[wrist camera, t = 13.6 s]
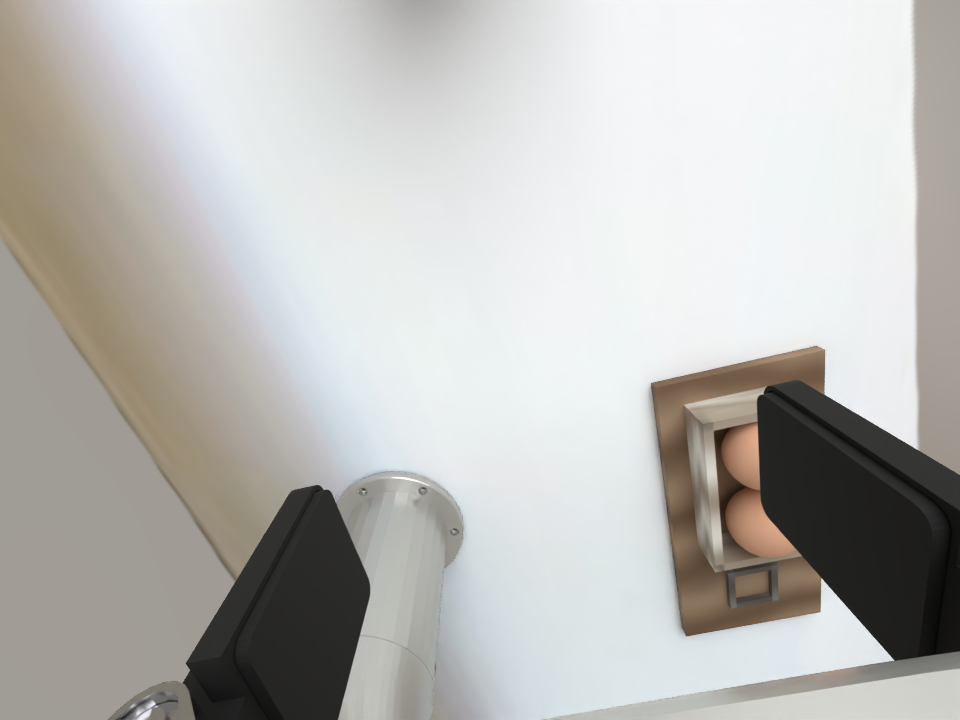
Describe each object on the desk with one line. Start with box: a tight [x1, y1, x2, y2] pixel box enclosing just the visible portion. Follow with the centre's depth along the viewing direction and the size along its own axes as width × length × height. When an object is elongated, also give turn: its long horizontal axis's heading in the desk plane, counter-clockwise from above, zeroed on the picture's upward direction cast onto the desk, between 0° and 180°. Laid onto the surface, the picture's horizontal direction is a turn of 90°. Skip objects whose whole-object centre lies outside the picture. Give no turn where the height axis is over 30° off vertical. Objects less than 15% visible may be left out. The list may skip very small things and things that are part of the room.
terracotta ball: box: [725, 487, 796, 558], centre depth 40 cm, size 6×6×6 cm
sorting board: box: [651, 346, 825, 636], centre depth 42 cm, size 30×14×4 cm, turn 14°
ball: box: [721, 422, 760, 491], centre depth 38 cm, size 6×6×6 cm
